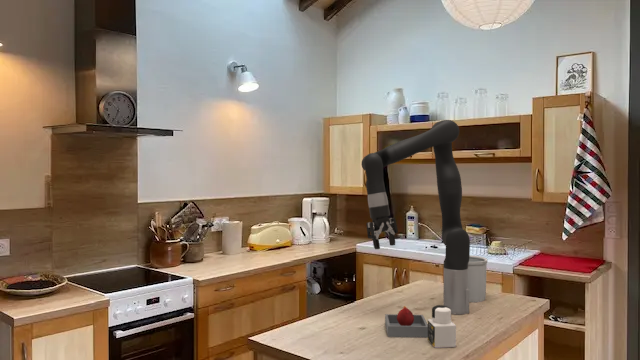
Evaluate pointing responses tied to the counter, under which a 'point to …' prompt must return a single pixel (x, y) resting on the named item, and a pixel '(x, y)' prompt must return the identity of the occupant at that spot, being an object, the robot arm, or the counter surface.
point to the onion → (405, 317)
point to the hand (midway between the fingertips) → (385, 247)
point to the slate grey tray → (406, 327)
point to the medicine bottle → (441, 328)
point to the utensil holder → (477, 278)
